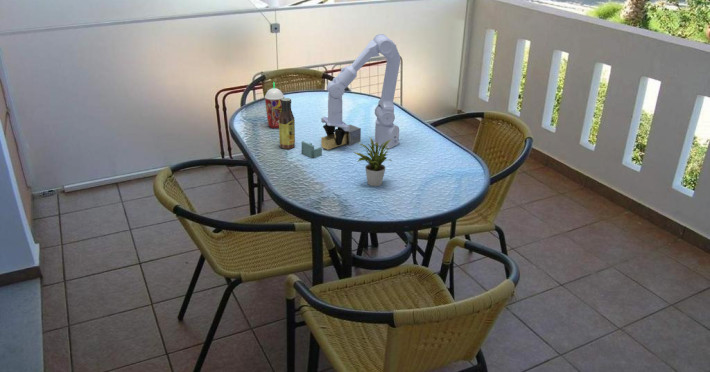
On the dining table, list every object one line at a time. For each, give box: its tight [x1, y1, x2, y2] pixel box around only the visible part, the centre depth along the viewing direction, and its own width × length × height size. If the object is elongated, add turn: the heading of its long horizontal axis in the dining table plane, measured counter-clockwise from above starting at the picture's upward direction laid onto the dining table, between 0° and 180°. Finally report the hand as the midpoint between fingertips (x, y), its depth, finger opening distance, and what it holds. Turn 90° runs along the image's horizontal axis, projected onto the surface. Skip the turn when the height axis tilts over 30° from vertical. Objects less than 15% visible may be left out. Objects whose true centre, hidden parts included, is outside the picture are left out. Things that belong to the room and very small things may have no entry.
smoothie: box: [264, 81, 285, 129], centre depth 259 cm, size 8×8×20 cm
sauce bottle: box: [278, 97, 296, 150], centre depth 238 cm, size 6×6×20 cm
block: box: [320, 132, 349, 150], centre depth 243 cm, size 16×4×4 cm, turn 135°
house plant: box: [353, 137, 393, 187], centre depth 210 cm, size 14×14×16 cm
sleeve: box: [345, 124, 362, 146], centre depth 247 cm, size 6×6×6 cm
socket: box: [301, 141, 323, 159], centre depth 234 cm, size 5×7×5 cm
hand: (335, 143), depth 243 cm, fingers open, 4 cm apart
